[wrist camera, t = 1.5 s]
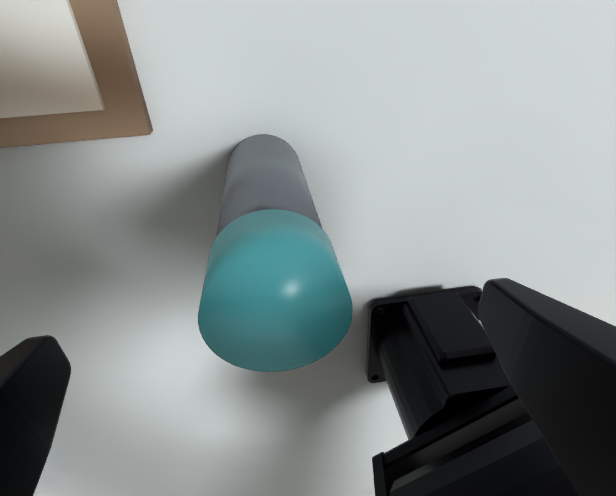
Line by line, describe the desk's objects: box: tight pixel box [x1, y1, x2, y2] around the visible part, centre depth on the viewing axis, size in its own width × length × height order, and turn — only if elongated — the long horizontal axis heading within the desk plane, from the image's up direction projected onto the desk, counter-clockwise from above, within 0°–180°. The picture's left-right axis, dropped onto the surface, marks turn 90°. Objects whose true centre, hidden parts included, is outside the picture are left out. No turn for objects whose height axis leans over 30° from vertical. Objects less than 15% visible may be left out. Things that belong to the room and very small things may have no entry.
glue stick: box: [198, 134, 353, 372], centre depth 11 cm, size 3×3×9 cm
